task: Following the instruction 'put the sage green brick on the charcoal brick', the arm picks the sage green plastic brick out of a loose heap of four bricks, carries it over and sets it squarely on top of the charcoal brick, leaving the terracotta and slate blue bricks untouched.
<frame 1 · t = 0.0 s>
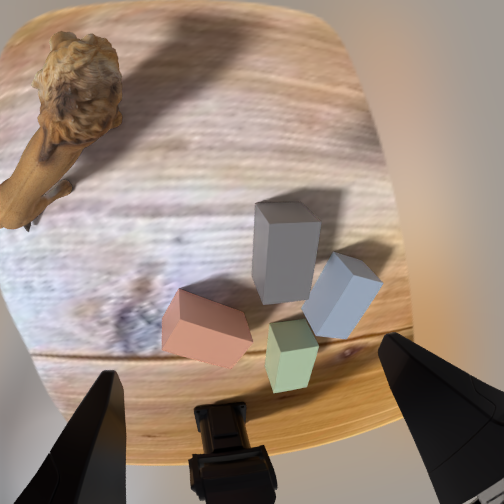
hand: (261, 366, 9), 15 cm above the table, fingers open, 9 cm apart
slate blue brick: (331, 284, 28), on the table
lion figurine: (70, 137, 17), on the table
green brick: (283, 342, 30), on the table
charcoal brick: (275, 239, 24), on the table
terracotta brick: (203, 314, 26), on the table
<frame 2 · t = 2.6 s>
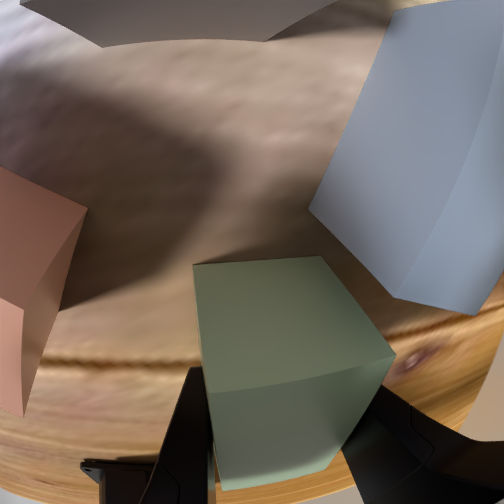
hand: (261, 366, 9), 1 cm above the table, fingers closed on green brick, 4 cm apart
slate blue brick: (400, 130, 7), on the table
green brick: (254, 343, 10), on the table, touching gripper
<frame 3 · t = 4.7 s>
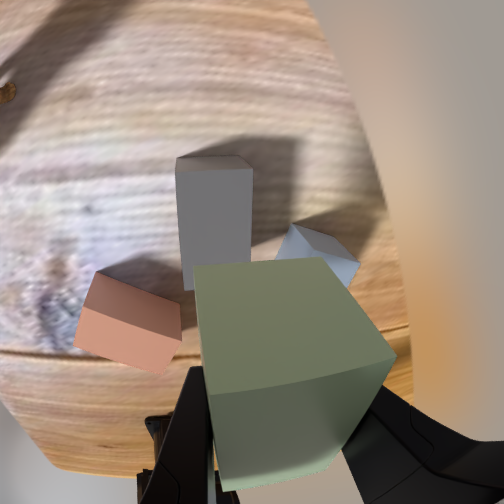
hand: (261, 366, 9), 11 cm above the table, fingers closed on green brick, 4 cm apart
slate blue brick: (294, 268, 22), on the table
green brick: (254, 344, 10), point 10 cm above the table, touching gripper
charcoal brick: (208, 207, 18), on the table
terracotta brick: (130, 306, 20), on the table
when the fingers open (6 cm above the table, at t = 6.7 s): green brick drops 1 cm, resting on charcoal brick.
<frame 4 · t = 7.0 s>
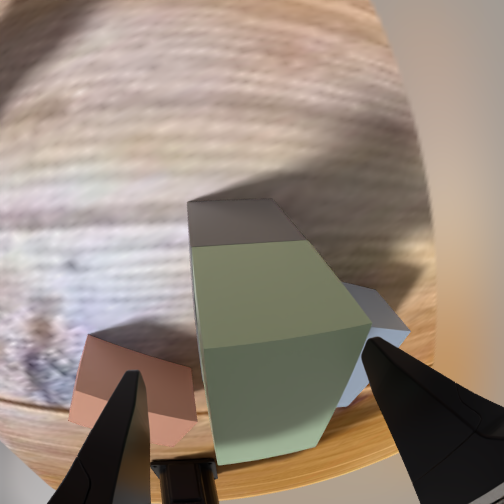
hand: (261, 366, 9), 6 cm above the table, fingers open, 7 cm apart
slate blue brick: (327, 325, 18), on the table
green brick: (247, 323, 11), point 4 cm above the table, touching charcoal brick
charcoal brick: (229, 265, 14), on the table, touching green brick
terracotta brick: (131, 368, 16), on the table
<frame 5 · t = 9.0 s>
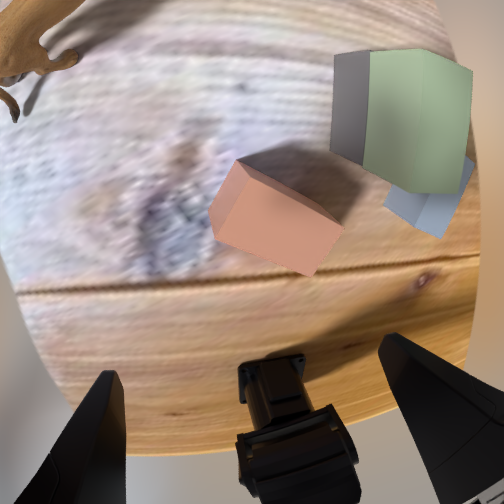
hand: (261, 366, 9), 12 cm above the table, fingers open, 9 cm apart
slate blue brick: (413, 175, 21), on the table
lion figurine: (81, 5, 10), on the table
green brick: (394, 113, 14), point 4 cm above the table, touching charcoal brick
charcoal brick: (356, 105, 17), on the table, touching green brick
terracotta brick: (265, 205, 19), on the table
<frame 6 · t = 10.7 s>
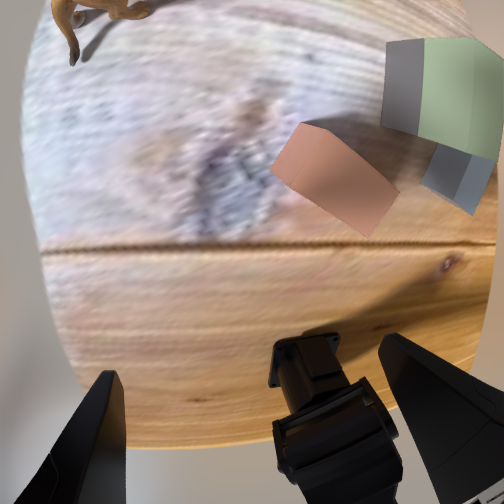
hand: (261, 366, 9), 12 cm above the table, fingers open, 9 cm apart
slate blue brick: (445, 158, 21), on the table
green brick: (441, 93, 14), point 4 cm above the table, touching charcoal brick
charcoal brick: (402, 88, 17), on the table, touching green brick
terracotta brick: (321, 170, 19), on the table
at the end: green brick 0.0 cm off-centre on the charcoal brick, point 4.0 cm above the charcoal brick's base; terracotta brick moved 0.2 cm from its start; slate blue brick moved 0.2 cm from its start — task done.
